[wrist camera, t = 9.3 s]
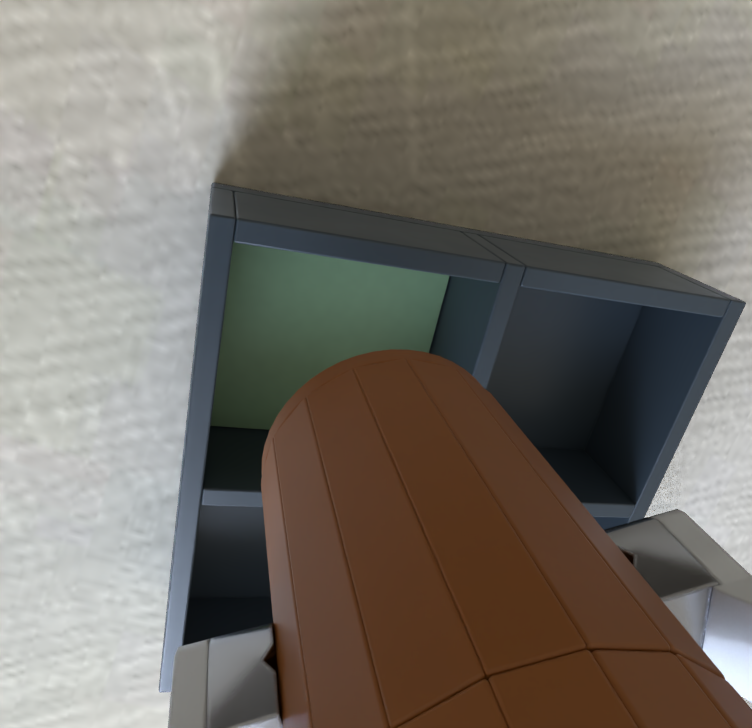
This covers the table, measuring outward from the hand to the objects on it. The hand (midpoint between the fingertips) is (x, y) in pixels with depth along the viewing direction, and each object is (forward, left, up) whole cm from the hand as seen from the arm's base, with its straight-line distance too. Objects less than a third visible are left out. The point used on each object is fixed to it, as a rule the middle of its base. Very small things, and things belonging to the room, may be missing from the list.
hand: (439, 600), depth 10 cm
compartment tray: (+5, -2, -12) cm, 13 cm away
